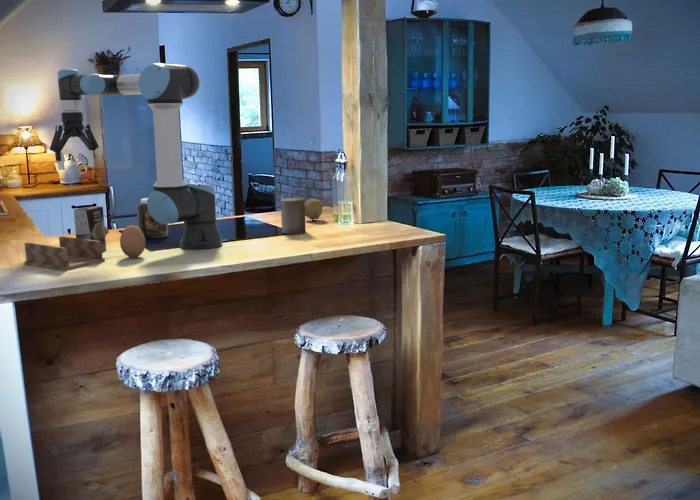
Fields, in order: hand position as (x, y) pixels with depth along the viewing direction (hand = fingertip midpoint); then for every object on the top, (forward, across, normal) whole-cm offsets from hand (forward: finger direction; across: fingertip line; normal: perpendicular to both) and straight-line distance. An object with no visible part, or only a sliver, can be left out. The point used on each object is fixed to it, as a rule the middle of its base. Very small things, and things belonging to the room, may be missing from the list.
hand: (76, 168), depth 270 cm
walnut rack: (+28, +31, +29) cm, 51 cm away
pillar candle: (+28, -52, +63) cm, 87 cm away
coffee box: (+28, +15, +23) cm, 39 cm away
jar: (+28, -20, +17) cm, 39 cm away
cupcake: (+28, +1, +9) cm, 30 cm away
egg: (+28, +14, +43) cm, 53 cm away
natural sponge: (+28, -81, +53) cm, 101 cm away
